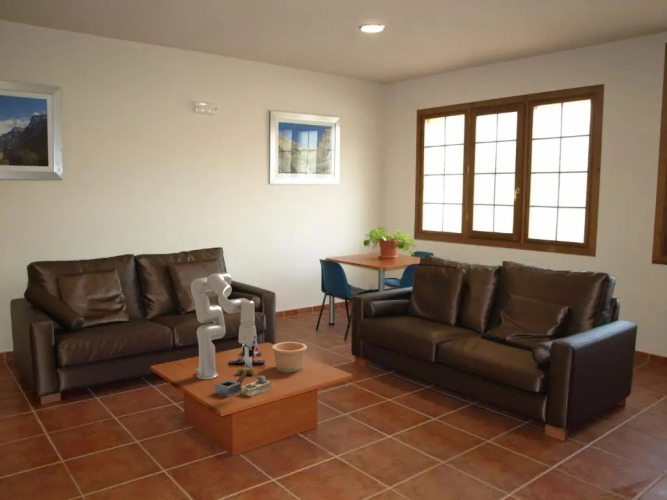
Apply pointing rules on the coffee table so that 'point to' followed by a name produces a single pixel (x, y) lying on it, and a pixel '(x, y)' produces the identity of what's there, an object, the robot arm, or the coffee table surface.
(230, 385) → the socket
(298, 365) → the pottery
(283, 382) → the coffee table surface
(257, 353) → the race car
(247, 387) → the rack
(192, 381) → the coffee table surface
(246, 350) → the silver metal cylinder
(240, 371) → the gavel
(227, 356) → the coffee table surface
